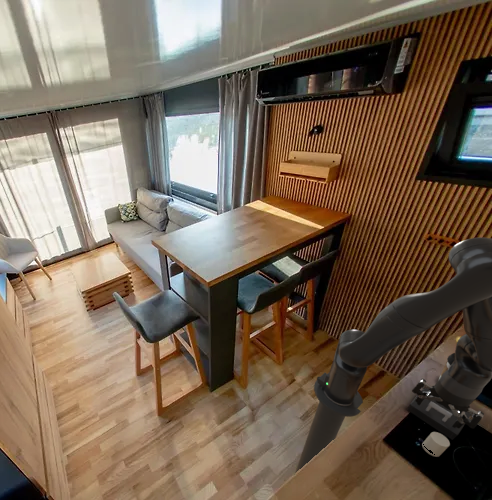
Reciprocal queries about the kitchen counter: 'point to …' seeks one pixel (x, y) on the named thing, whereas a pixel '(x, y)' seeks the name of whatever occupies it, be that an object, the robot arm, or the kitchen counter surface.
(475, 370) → the robot arm
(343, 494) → the kitchen counter surface
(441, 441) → the cylinder
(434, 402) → the lid
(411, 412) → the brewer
